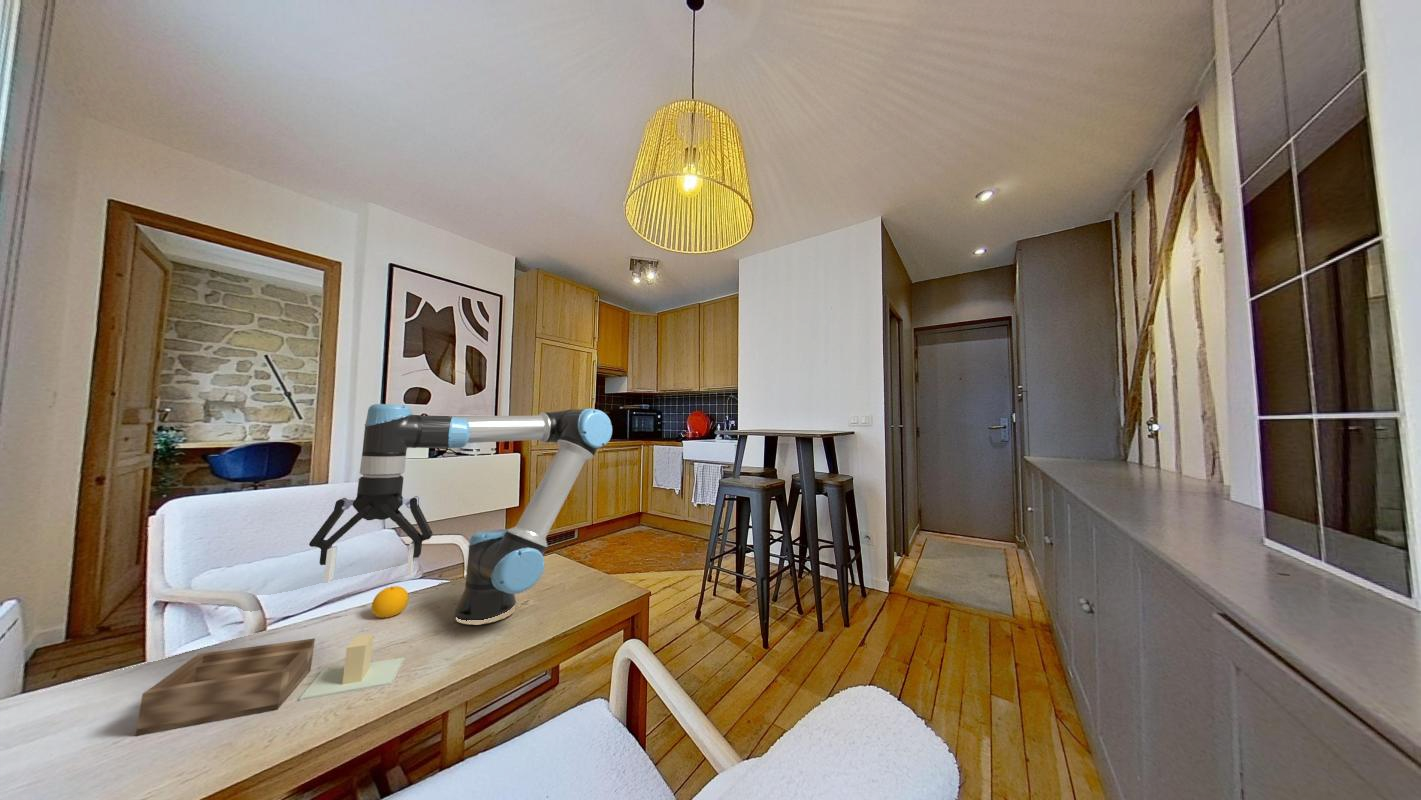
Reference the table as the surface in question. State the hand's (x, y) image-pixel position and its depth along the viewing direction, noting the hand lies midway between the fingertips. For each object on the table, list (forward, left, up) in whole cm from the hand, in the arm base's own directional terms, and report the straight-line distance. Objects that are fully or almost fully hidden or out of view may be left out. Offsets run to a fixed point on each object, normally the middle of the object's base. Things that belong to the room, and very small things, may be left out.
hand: (370, 576), depth 84 cm
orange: (+2, -32, -21) cm, 38 cm away
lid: (0, 0, -21) cm, 21 cm away
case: (+18, 0, -20) cm, 27 cm away
